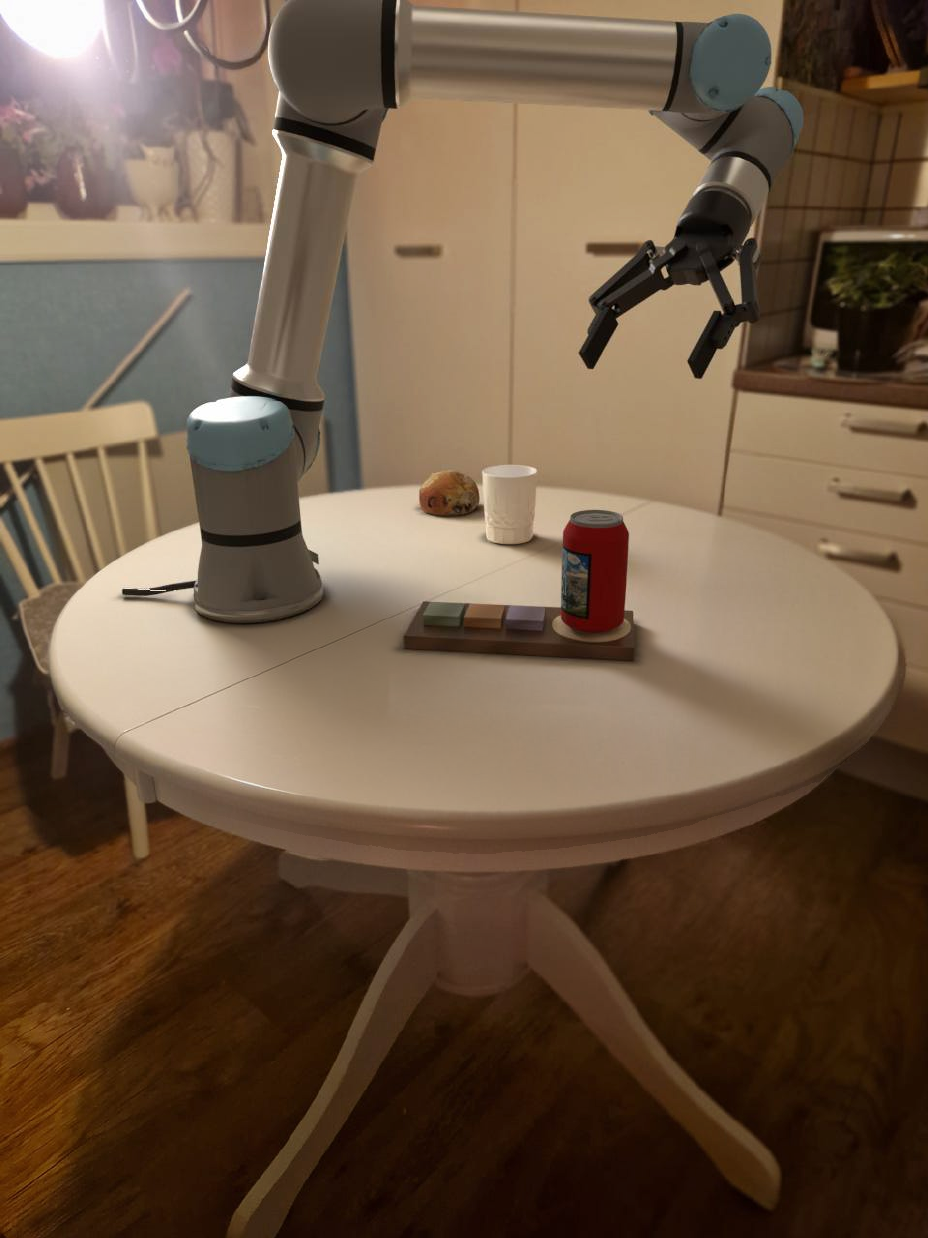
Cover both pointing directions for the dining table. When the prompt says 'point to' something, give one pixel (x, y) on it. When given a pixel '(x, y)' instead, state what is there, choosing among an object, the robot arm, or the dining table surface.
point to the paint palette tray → (513, 632)
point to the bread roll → (449, 494)
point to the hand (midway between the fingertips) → (637, 365)
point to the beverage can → (594, 571)
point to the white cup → (509, 503)
